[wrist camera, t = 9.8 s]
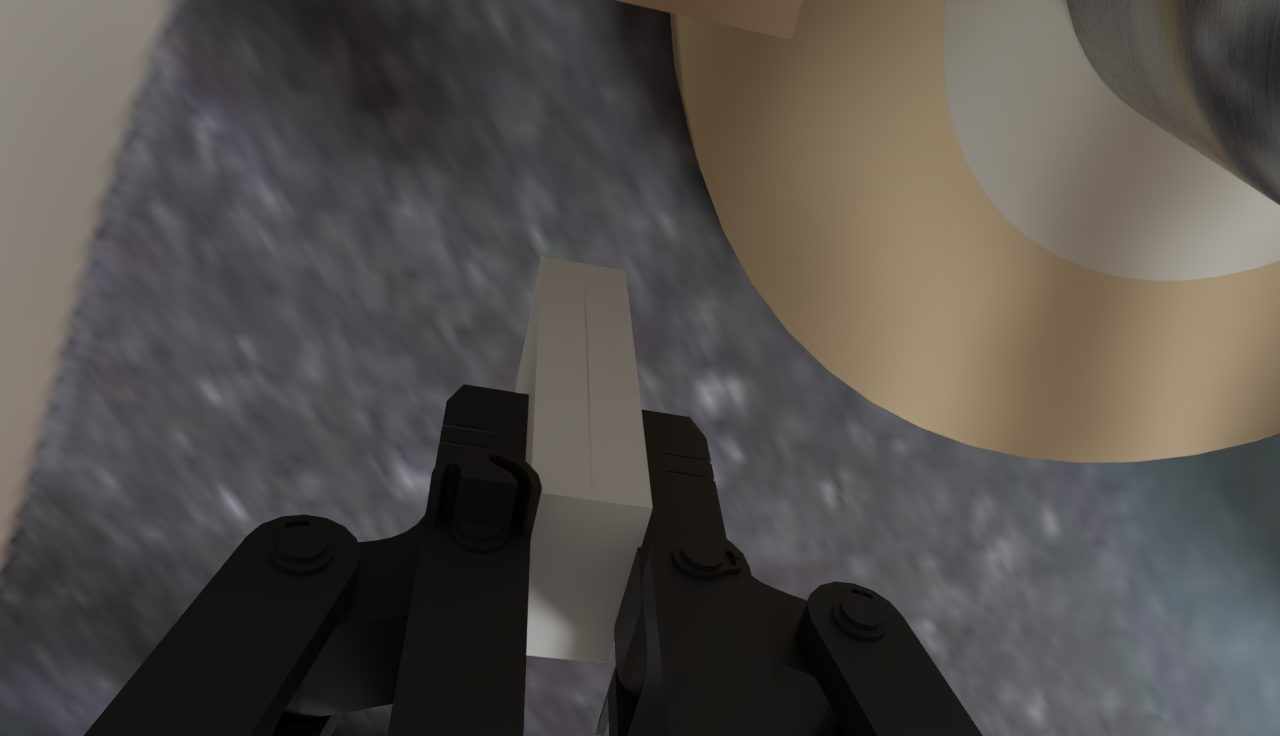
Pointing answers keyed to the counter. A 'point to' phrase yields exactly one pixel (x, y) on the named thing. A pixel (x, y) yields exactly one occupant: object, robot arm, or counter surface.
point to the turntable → (983, 225)
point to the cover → (1195, 74)
